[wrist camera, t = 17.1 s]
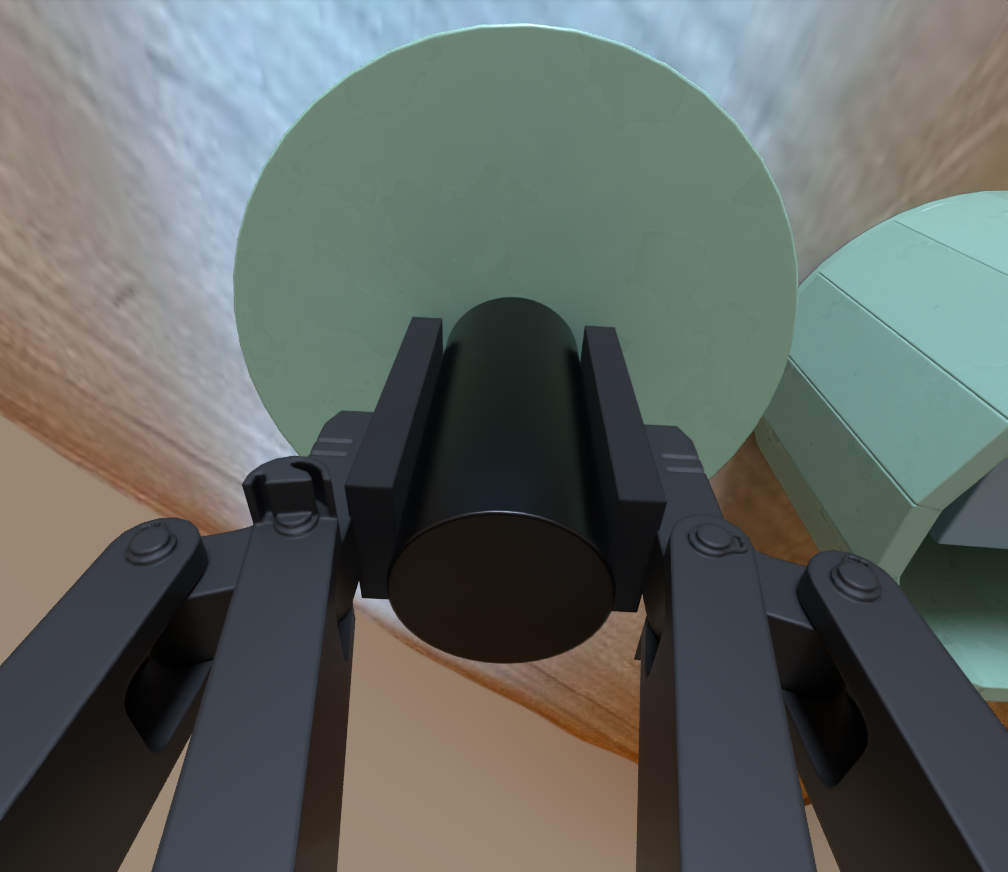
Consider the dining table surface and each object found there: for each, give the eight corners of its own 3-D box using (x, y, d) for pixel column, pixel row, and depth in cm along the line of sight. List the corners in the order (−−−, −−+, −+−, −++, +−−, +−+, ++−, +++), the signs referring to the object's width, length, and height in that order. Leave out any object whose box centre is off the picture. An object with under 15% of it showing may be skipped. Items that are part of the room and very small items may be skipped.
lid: (183, 6, 12) (-366, -38, 5) (875, 41, 12) (1440, 51, 5) (299, 515, 21) (169, 789, 13) (706, 537, 21) (808, 824, 13)
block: (896, 313, 22) (1033, 411, 16) (1030, 325, 22) (1213, 427, 16) (839, 426, 25) (937, 544, 19) (956, 437, 25) (1089, 557, 19)
